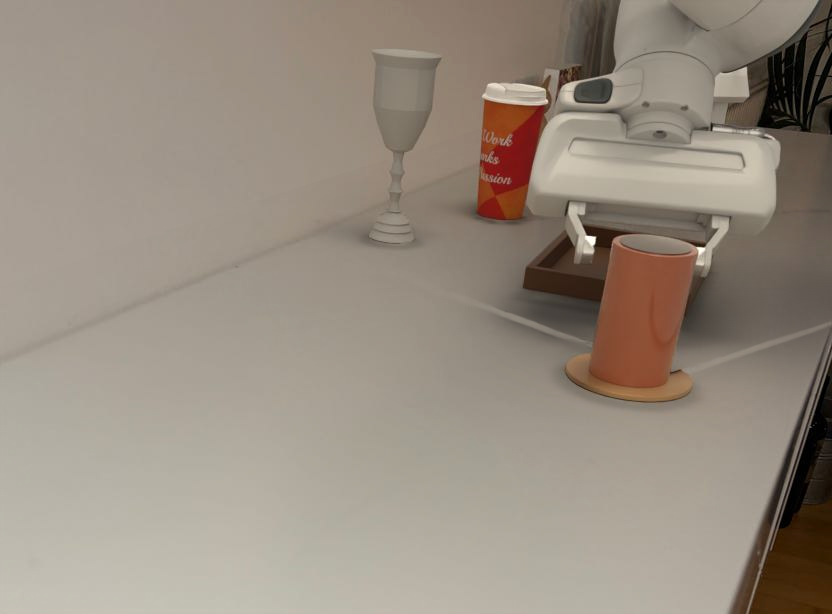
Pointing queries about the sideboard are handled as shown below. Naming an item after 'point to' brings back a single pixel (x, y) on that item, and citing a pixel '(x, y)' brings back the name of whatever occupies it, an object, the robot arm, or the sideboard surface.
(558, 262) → the tray
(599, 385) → the coaster
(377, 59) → the chalice
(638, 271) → the cup
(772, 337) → the sideboard surface
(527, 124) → the paper cup
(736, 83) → the white mech figurine
